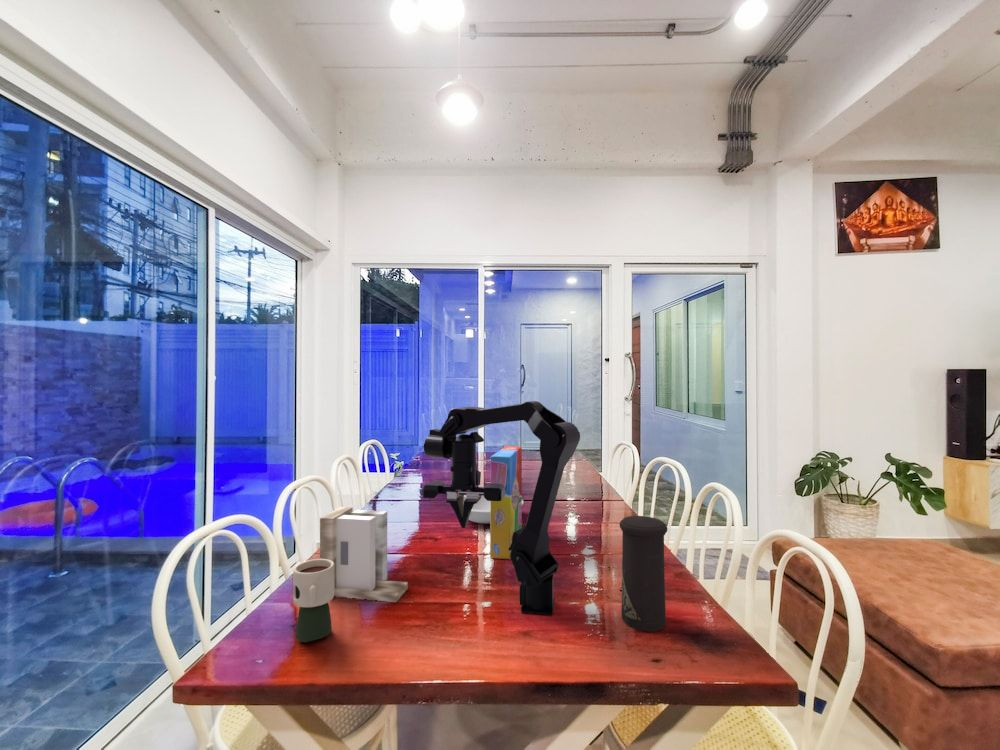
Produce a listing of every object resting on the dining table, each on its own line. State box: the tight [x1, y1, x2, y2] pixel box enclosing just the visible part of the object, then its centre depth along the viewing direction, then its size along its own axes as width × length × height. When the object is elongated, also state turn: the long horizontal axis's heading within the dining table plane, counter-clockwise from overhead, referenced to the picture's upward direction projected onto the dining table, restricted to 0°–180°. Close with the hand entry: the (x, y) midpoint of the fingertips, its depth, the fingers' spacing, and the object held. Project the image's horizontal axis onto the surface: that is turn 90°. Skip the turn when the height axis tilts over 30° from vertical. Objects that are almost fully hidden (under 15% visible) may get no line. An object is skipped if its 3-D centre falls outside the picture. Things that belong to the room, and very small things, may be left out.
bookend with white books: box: [319, 506, 409, 603], centre depth 104 cm, size 18×10×17 cm, turn 80°
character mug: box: [292, 558, 335, 643], centre depth 85 cm, size 11×7×13 cm, turn 20°
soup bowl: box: [463, 495, 524, 525], centre depth 155 cm, size 24×24×7 cm
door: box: [336, 515, 375, 590], centre depth 103 cm, size 8×3×16 cm, turn 80°
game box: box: [489, 445, 523, 560], centre depth 131 cm, size 21×6×27 cm, turn 168°
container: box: [619, 515, 668, 632], centre depth 90 cm, size 9×9×20 cm
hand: (463, 527), depth 107 cm, fingers closed
